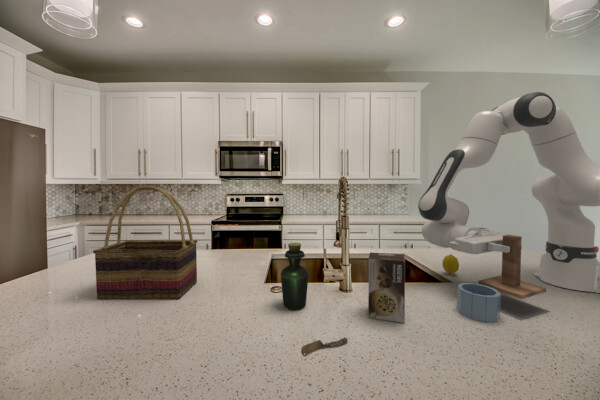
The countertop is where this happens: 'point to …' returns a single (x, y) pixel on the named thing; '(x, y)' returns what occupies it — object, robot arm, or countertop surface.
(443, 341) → the countertop surface
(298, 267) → the potion bottle
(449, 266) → the lemon
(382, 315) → the coffee box
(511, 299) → the mat
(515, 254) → the wooden post on board
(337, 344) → the meat cleaver
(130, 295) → the basket
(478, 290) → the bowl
